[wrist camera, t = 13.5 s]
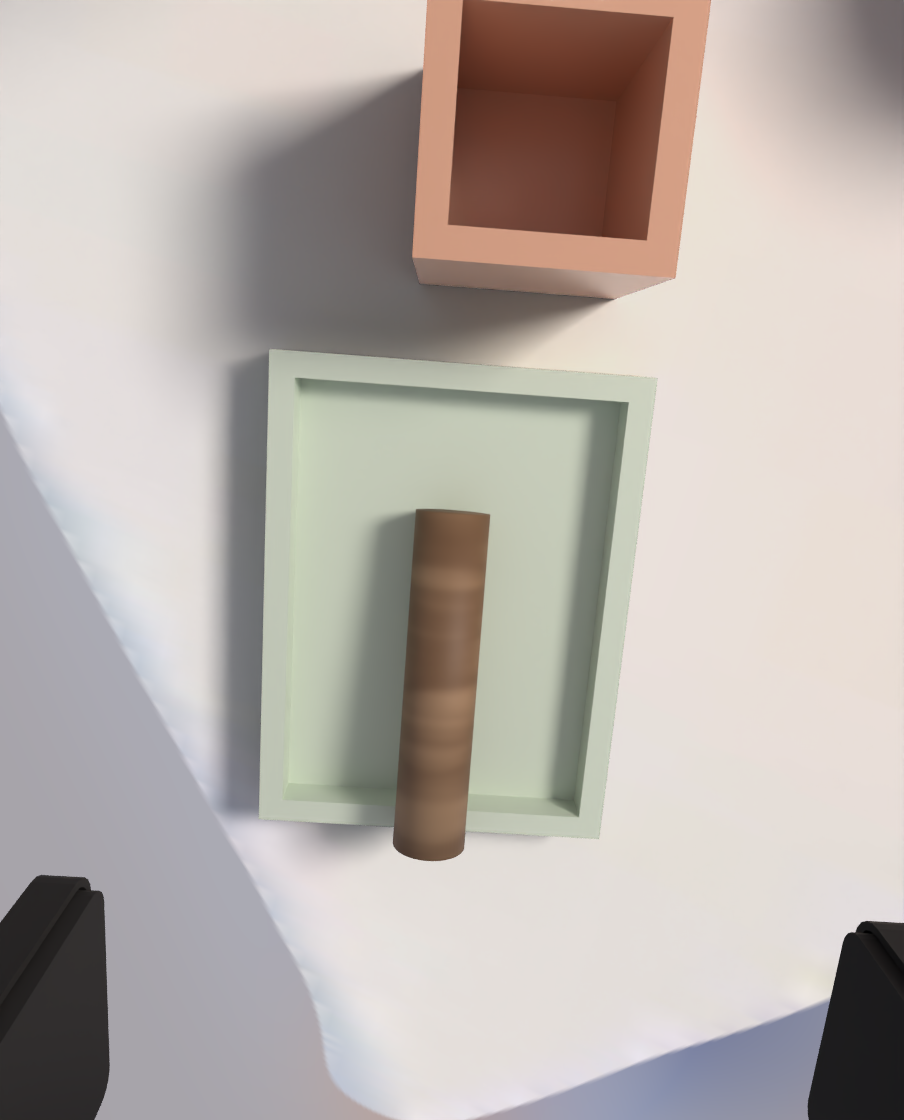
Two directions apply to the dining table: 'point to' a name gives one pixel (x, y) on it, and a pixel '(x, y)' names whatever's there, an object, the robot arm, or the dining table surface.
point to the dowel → (440, 682)
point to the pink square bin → (556, 143)
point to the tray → (386, 564)
